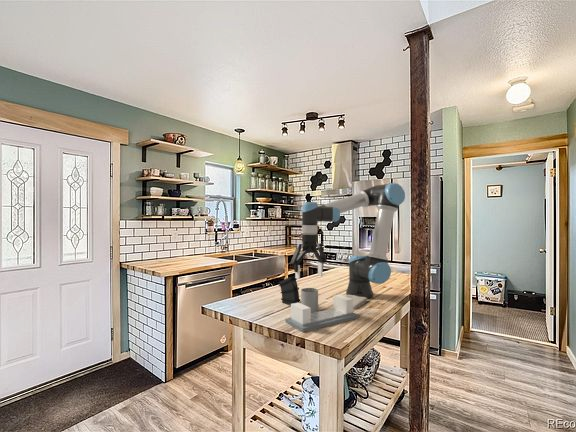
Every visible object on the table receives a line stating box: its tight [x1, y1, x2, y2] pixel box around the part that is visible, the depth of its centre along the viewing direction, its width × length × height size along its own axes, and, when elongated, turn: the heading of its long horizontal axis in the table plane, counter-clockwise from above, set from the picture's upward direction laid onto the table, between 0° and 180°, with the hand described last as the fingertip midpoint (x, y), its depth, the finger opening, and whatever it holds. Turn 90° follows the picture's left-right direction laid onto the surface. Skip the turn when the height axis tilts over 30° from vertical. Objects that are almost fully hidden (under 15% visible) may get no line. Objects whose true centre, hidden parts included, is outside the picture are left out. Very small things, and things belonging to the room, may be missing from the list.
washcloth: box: [344, 294, 368, 310], centre depth 158 cm, size 12×18×3 cm, turn 146°
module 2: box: [332, 294, 354, 314], centre depth 140 cm, size 4×9×6 cm, turn 32°
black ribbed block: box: [278, 275, 301, 307], centre depth 156 cm, size 4×13×15 cm, turn 39°
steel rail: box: [290, 308, 354, 326], centre depth 133 cm, size 28×9×1 cm, turn 122°
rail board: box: [285, 312, 360, 333], centre depth 133 cm, size 31×13×2 cm, turn 122°
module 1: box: [290, 302, 311, 324], centre depth 127 cm, size 4×9×6 cm, turn 32°
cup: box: [300, 287, 319, 313], centre depth 147 cm, size 8×8×10 cm
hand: (309, 277), depth 146 cm, fingers open, 13 cm apart
